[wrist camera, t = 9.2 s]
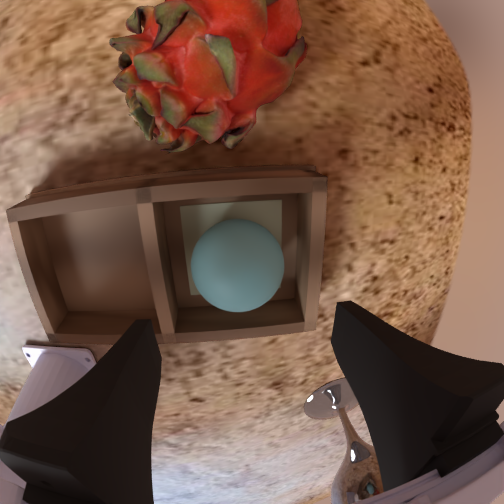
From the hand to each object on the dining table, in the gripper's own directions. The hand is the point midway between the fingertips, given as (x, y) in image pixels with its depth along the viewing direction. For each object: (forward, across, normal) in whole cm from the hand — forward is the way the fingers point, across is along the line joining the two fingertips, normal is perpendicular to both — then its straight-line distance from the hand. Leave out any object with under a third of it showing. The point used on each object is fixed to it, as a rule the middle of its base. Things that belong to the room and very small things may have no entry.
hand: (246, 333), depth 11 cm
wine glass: (+9, -10, +18) cm, 22 cm away
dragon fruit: (+9, +1, -12) cm, 15 cm away
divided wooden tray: (+9, +4, 0) cm, 10 cm away
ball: (+6, 0, 0) cm, 6 cm away
